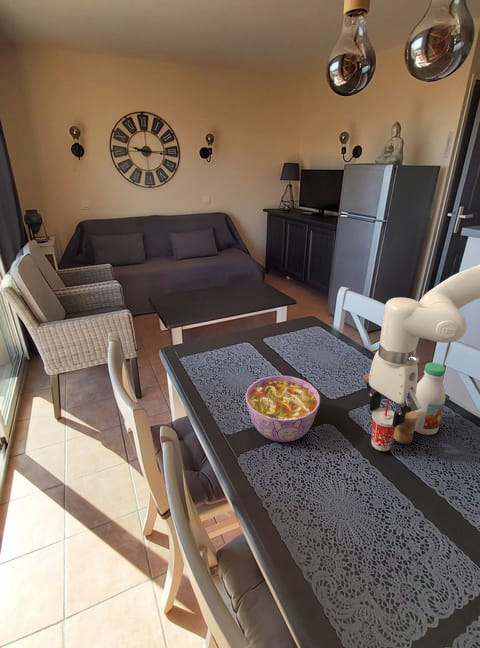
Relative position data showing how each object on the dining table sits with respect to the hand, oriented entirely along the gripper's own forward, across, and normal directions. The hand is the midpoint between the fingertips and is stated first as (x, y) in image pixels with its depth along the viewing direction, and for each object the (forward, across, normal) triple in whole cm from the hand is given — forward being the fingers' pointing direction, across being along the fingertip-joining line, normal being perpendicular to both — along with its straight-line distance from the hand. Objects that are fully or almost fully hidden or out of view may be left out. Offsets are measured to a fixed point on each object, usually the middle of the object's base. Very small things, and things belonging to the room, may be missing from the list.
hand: (385, 415), depth 88 cm
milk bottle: (+12, 0, -17) cm, 21 cm away
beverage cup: (+9, 0, 0) cm, 9 cm away
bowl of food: (+12, +20, +16) cm, 29 cm away
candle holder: (+12, 0, -9) cm, 15 cm away
